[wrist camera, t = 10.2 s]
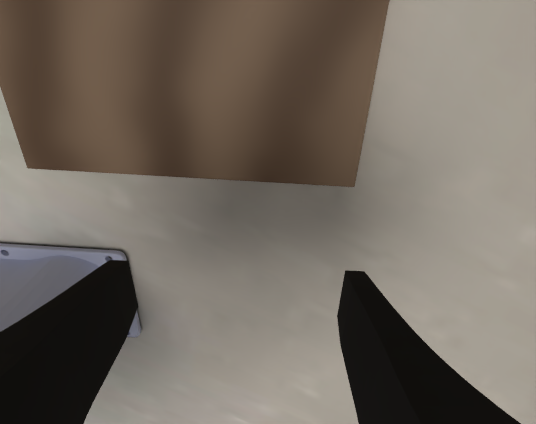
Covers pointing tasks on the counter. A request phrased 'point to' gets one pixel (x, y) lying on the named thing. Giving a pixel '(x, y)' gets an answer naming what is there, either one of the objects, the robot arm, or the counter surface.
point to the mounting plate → (192, 86)
